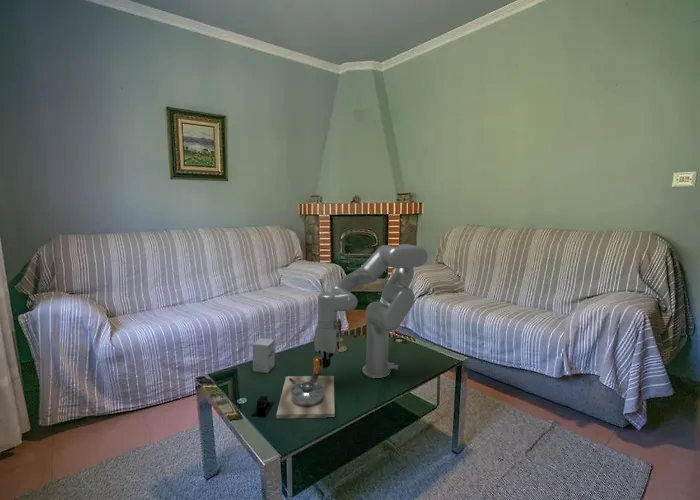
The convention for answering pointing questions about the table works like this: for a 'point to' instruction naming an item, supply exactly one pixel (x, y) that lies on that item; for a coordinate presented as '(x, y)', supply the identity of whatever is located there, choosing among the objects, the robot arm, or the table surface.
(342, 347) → the hand bell
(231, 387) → the table surface
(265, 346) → the supplement box
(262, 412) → the black stand with base
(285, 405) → the birch board
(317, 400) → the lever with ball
